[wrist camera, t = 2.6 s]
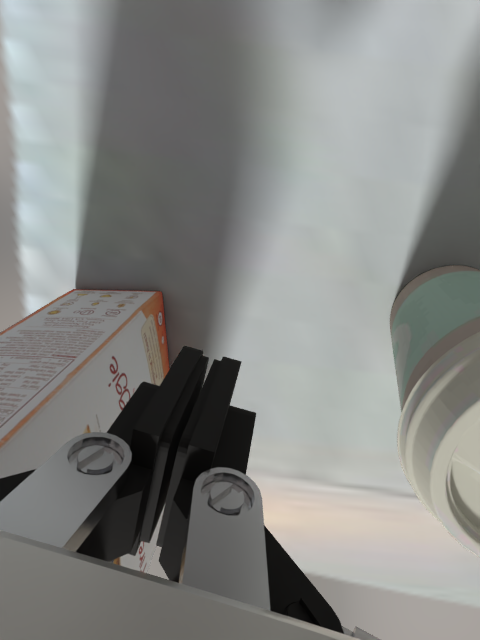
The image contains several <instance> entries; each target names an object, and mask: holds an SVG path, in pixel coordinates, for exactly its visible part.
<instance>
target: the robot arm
mask: <svg viewBox="0 0 480 640" xmlns="http://www.w3.org/2000/svg"><path fill="white" fill-rule="evenodd" d="M208 360H209V358H208V357H204V356H203V351H201V350H198V349H194V348H191V347H187V346H184V347H183V348H182V350H181V352H180V353H179V355H178V357H177V358H176V360H175V361H174V363H173V365H172V366H171V368H170V370H169V371H168V373H167V375H166V376H165V378H164V379H163V381H162V383H161V384H160V386H158V385H155V384H151V383H148V382H142V383H141V384H140V385H139V387H138V388H137V390H136V391H135V392H134V394H133V395H132V397H131V398H130V400H129V401H128V402H127V404H126V405H125V407H124V408H123V410H122V411H121V412H120V414H119V415H118V417H117V418H116V420H115V421H114V423H113V424H112V425H111V427H110V428H109V430H108V431H107V433H102V432H91V433H84V434H81V435H79V436H76V437H74V438H72V439H71V440H69V441H68V442H66V443H65V444H64V445H63V446H62V447H61V448H60V449H59V450H57V451H56V452H55V453H54V454H53V455H52V456H51V457H50V458H49V459H47V460H46V461H45V462H44V463H43V464H42V465H41V466H40V467H38V468H37V469H34V470H30V471H26V472H23V473H19V474H15V475H11V476H8V477H4V478H0V640H380V639H378V638H377V637H375V636H373V635H371V634H369V633H367V632H366V631H364V630H362V629H360V628H358V627H355V628H354V630H353V632H352V631H350V630H348V629H346V628H344V627H343V626H341V623H340V621H339V619H338V617H337V615H336V614H335V612H334V611H333V609H332V608H331V606H330V605H329V604H328V603H327V602H326V600H325V599H324V598H323V597H322V595H321V594H320V593H319V592H318V591H317V589H316V588H315V587H314V586H313V584H312V583H311V582H310V581H309V579H308V578H307V577H306V576H305V575H304V573H303V572H302V571H301V570H300V568H299V567H298V566H297V565H296V564H295V562H294V561H293V560H292V559H291V557H290V556H289V555H288V554H287V553H286V551H285V550H284V549H283V548H282V546H281V545H280V544H279V543H278V542H277V540H276V539H275V538H274V537H273V535H272V534H271V533H270V532H269V531H268V529H267V528H266V527H265V526H264V519H263V506H262V497H261V493H260V490H259V488H258V487H257V485H256V484H255V482H254V481H253V480H251V479H250V478H249V477H248V476H247V475H246V469H247V463H248V458H249V452H250V446H251V440H252V435H253V429H254V423H255V417H256V413H254V412H251V411H247V410H244V409H240V408H237V407H233V406H230V402H231V398H232V395H233V391H234V387H235V384H236V380H237V376H238V372H239V369H240V365H241V361H238V360H234V359H230V358H227V357H223V358H222V360H221V361H219V360H215V359H214V361H213V364H212V366H211V368H210V371H209V373H208V375H207V378H206V380H205V383H204V385H203V382H204V377H205V373H206V369H207V365H208ZM202 386H203V387H202ZM165 502H166V503H165ZM164 505H165V507H164ZM163 508H164V512H163V516H162V521H161V525H160V529H159V534H158V538H157V543H156V546H160V547H162V549H161V553H160V557H159V562H160V564H161V566H162V567H163V569H164V571H165V573H166V575H167V576H168V578H169V580H167V579H164V578H161V577H157V576H154V575H150V574H147V573H144V572H140V571H137V570H134V569H130V568H127V567H124V566H120V565H117V564H114V560H115V559H117V558H119V557H121V556H124V555H126V554H130V555H133V556H135V555H136V553H137V551H138V548H139V546H140V543H141V541H143V542H146V543H150V541H151V538H152V536H153V533H154V531H155V528H156V526H157V523H158V520H159V518H160V515H161V513H162V510H163Z"/></svg>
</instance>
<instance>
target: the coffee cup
mask: <svg viewBox="0 0 480 640" xmlns="http://www.w3.org/2000/svg"><path fill="white" fill-rule="evenodd" d="M390 330H391V338H392V347H393V354H394V361H395V369H396V376H397V383H398V391H399V398H400V406H401V417H400V421H399V426H398V434H397V446H398V454H399V459H400V463H401V466H402V469H403V471H404V474H405V476H406V478H407V480H408V481H409V483H410V485H411V486H412V488H413V490H414V492H415V494H416V495H417V497H418V499H419V500H420V501H421V503H422V504H423V505H424V507H425V508H426V509H427V510H428V511H429V512H430V513H431V514H432V515H433V516H434V517H435V518H436V519H437V520H438V521H439V522H441V524H442V525H443V526H444V528H445V529H446V530H447V531H448V533H449V534H450V535H451V536H452V537H453V538H454V539H455V540H456V541H457V542H458V543H459V544H460V545H461V546H463V547H464V548H466V549H467V550H468V551H470V552H471V553H473V554H474V555H476V556H478V557H479V558H480V270H478V269H475V268H472V267H468V266H460V265H451V266H443V267H438V268H435V269H432V270H429V271H427V272H425V273H423V274H421V275H419V276H417V277H416V278H415V279H413V280H412V281H411V282H409V283H408V284H407V285H406V286H405V287H404V288H403V290H402V291H401V292H400V293H399V295H398V297H397V298H396V300H395V302H394V304H393V307H392V310H391V315H390Z"/></svg>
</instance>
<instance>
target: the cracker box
mask: <svg viewBox="0 0 480 640" xmlns="http://www.w3.org/2000/svg"><path fill="white" fill-rule="evenodd" d="M169 370H170V369H169V359H168V348H167V337H166V327H165V316H164V306H163V296H162V292H160V291H128V290H79V289H73V290H71V291H69V292H68V293H66V294H64V295H62V296H60V297H59V298H57V299H55V300H54V301H52V302H50V303H49V304H47V305H45V306H44V307H42V308H40V309H39V310H37V311H35V312H34V313H32V314H30V315H29V316H27V317H25V318H24V319H22V320H20V321H19V322H17V323H15V324H14V325H12V326H10V327H8V328H7V329H5V330H4V331H2V332H0V478H4V477H8V476H11V475H15V474H19V473H23V472H26V471H30V470H34V469H37V468H38V467H40V466H41V465H42V464H43V463H44V462H45V461H46V460H47V459H49V458H50V457H51V456H52V455H53V454H54V453H55V452H56V451H57V450H59V449H60V448H61V447H62V446H63V445H64V444H65V443H66V442H68V441H69V440H71V439H72V438H74V437H76V436H79V435H81V434H84V433H91V432H102V433H107V431H108V430H109V428H110V427H111V425H112V424H113V423H114V421H115V420H116V418H117V417H118V415H119V414H120V412H121V411H122V410H123V408H124V407H125V405H126V404H127V402H128V401H129V400H130V398H131V397H132V395H133V394H134V392H135V391H136V390H137V388H138V387H139V385H140V384H141V383H142V382H148V383H151V384H155V385H158V386H160V384H161V383H162V381H163V379H164V378H165V376H166V375H167V373H168V371H169ZM165 503H166V502H165ZM164 507H165V505H164ZM163 512H164V508H163V510H162V513H161V515H160V518H159V520H158V523H157V526H156V528H155V531H154V533H153V536H152V538H151V541H150V543H146V542H143V541H141V543H140V546H139V548H138V551H137V553H136V555H135V556H133V555H130V554H126V555H124V556H121V557H119V558H117V559H115V560H114V564H117V565H120V566H124V567H127V568H130V569H134V570H137V571H140V572H144V573H147V571H148V568H149V565H150V563H151V560H152V557H153V554H154V552H155V549H156V547H157V546H156V543H157V538H158V534H159V529H160V525H161V521H162V516H163Z"/></svg>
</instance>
